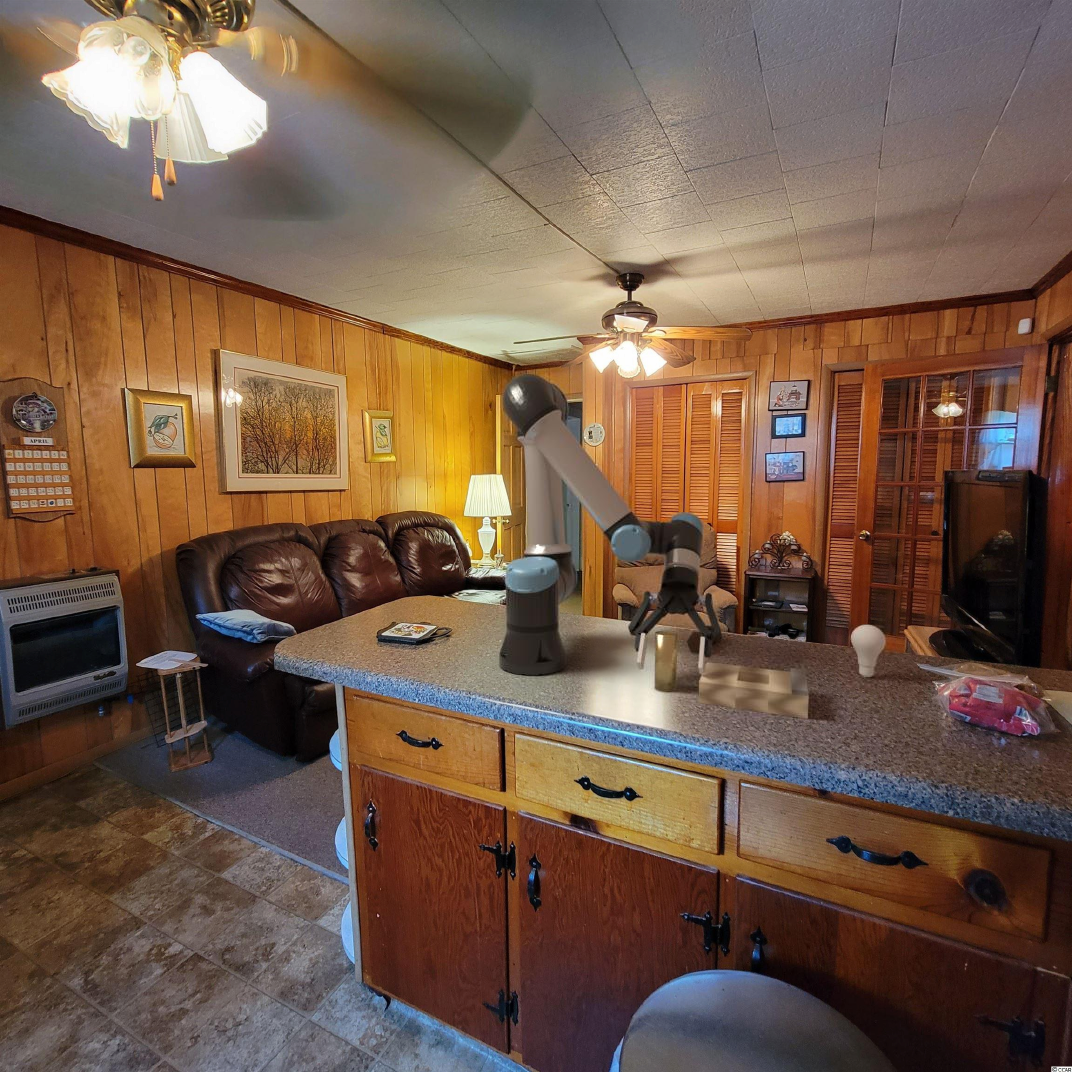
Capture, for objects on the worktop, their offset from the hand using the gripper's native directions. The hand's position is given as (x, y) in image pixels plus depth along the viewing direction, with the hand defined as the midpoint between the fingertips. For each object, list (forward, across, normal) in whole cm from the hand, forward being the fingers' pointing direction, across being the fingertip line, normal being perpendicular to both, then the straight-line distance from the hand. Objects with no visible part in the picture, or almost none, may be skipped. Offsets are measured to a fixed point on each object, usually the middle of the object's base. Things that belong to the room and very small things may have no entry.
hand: (669, 668), depth 105 cm
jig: (+1, -14, -6) cm, 16 cm away
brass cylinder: (+2, +2, -5) cm, 6 cm away
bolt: (-21, -3, -29) cm, 36 cm away
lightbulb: (-13, -36, -22) cm, 44 cm away
